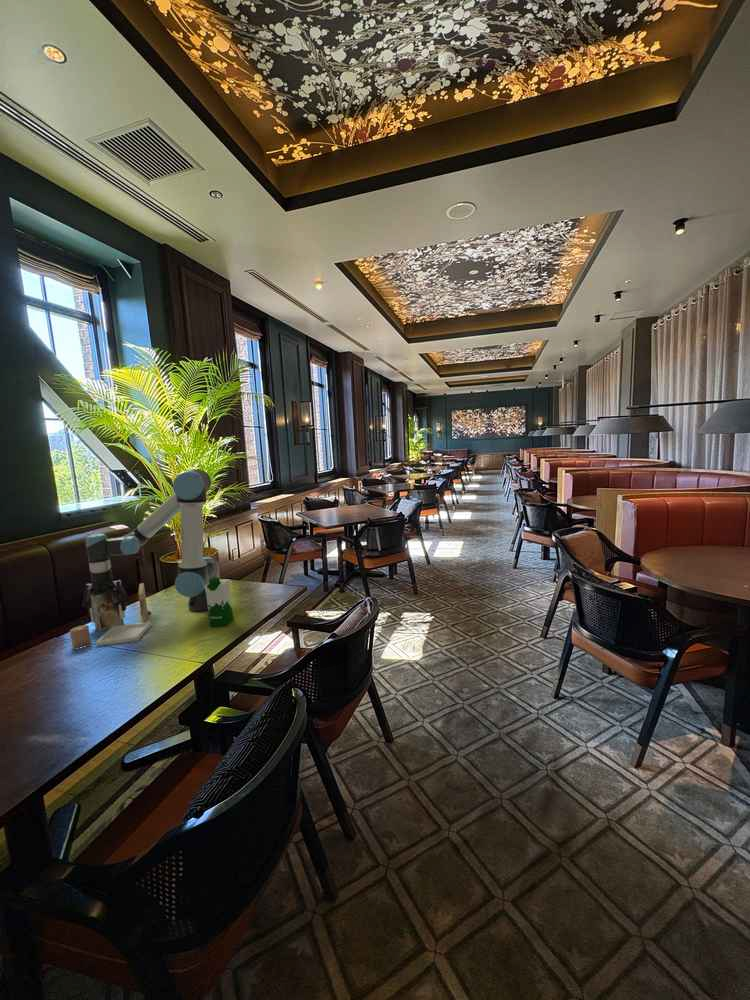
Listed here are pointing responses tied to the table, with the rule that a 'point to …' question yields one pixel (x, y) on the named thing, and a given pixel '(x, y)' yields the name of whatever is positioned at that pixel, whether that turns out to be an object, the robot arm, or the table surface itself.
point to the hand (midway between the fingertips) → (108, 619)
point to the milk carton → (219, 602)
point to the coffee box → (105, 610)
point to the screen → (143, 604)
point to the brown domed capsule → (80, 636)
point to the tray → (124, 633)
